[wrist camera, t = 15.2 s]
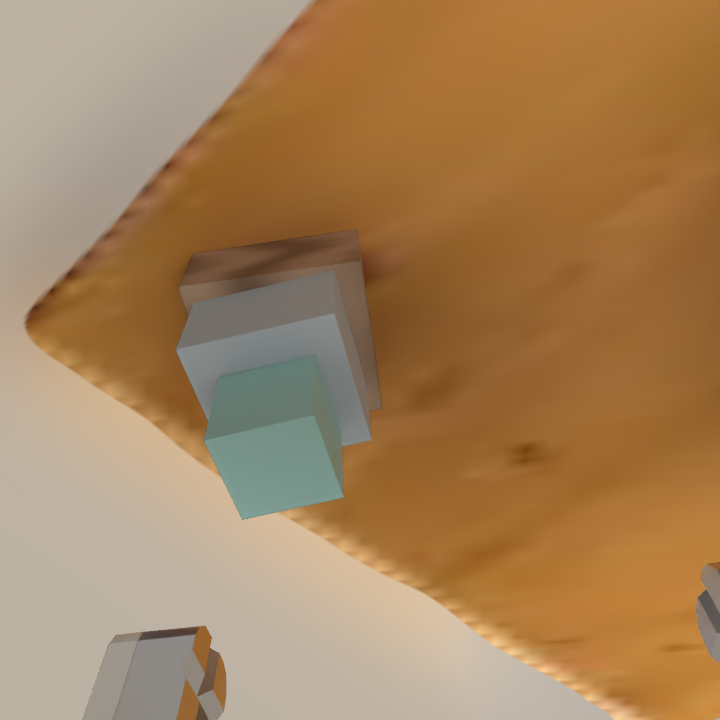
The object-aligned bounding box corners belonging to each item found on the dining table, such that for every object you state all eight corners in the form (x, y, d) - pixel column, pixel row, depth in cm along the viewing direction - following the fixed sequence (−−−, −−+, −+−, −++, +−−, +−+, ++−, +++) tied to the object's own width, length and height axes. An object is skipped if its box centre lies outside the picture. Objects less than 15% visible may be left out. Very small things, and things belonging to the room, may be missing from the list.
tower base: (357, 227, 39) (360, 260, 35) (377, 365, 45) (382, 408, 40) (194, 251, 40) (178, 287, 35) (233, 385, 45) (223, 430, 41)
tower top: (333, 270, 35) (334, 313, 31) (367, 388, 39) (371, 440, 35) (193, 303, 36) (175, 349, 32) (240, 415, 40) (230, 470, 36)
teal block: (315, 354, 32) (314, 415, 28) (341, 431, 35) (343, 497, 31) (219, 377, 33) (203, 440, 28) (251, 451, 35) (242, 519, 31)
